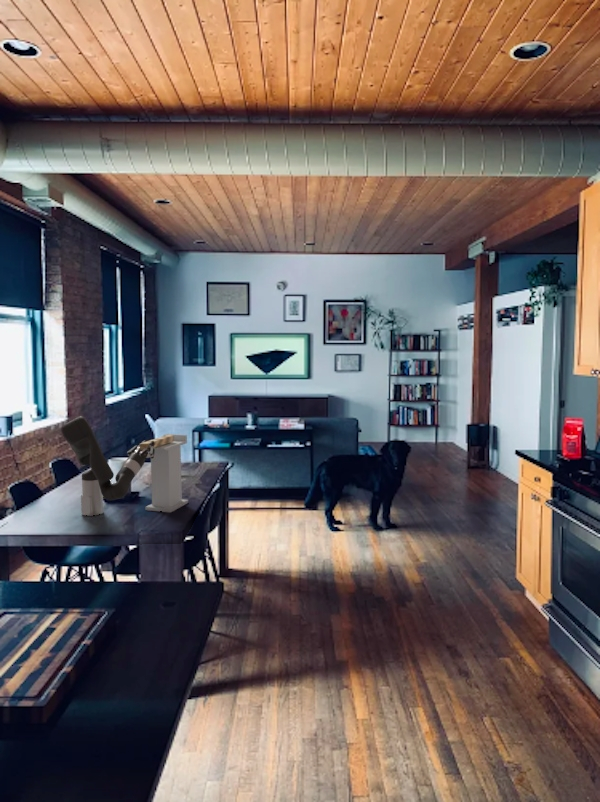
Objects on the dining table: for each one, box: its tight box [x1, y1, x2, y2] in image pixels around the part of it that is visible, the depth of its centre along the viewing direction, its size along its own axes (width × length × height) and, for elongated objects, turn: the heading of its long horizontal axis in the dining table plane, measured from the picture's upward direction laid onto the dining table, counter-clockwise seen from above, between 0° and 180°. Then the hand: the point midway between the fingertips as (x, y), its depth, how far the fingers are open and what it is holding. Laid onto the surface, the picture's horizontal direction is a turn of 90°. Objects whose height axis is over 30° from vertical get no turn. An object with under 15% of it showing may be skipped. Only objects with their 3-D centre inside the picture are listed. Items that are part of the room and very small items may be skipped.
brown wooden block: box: [138, 435, 174, 450], centre depth 295 cm, size 26×4×3 cm, turn 163°
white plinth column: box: [144, 433, 189, 513], centre depth 305 cm, size 22×14×35 cm, turn 163°
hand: (149, 441), depth 288 cm, fingers closed on brown wooden block, 3 cm apart
